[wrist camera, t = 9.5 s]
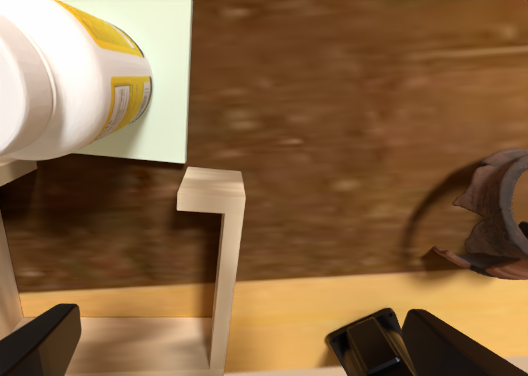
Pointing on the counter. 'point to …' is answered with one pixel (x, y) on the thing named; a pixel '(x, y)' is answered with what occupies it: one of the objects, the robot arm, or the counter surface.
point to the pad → (164, 77)
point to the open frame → (150, 328)
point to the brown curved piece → (495, 219)
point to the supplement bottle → (65, 79)
